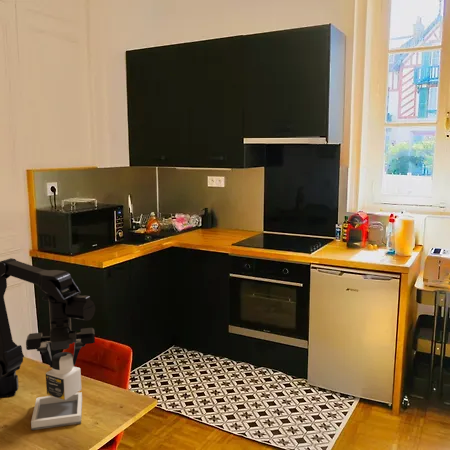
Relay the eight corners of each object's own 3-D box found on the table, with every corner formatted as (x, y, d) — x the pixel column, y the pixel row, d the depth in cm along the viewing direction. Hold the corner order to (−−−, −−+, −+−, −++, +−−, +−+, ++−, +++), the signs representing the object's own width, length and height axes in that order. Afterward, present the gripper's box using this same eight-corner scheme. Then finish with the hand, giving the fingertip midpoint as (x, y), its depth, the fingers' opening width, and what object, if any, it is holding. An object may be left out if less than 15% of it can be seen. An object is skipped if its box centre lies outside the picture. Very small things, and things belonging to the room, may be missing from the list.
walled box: (31, 430, 132) (31, 421, 132) (37, 405, 144) (36, 397, 144) (81, 423, 135) (80, 415, 135) (82, 399, 148) (81, 392, 147)
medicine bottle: (46, 395, 142) (44, 357, 140) (64, 384, 148) (62, 347, 146) (64, 401, 139) (62, 362, 136) (82, 390, 145) (80, 352, 143)
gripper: (22, 329, 129) (25, 383, 132) (94, 322, 134) (96, 374, 137) (26, 314, 139) (30, 364, 142) (93, 308, 145) (95, 357, 147)
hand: (62, 365), depth 142 cm, fingers closed on medicine bottle, 6 cm apart
